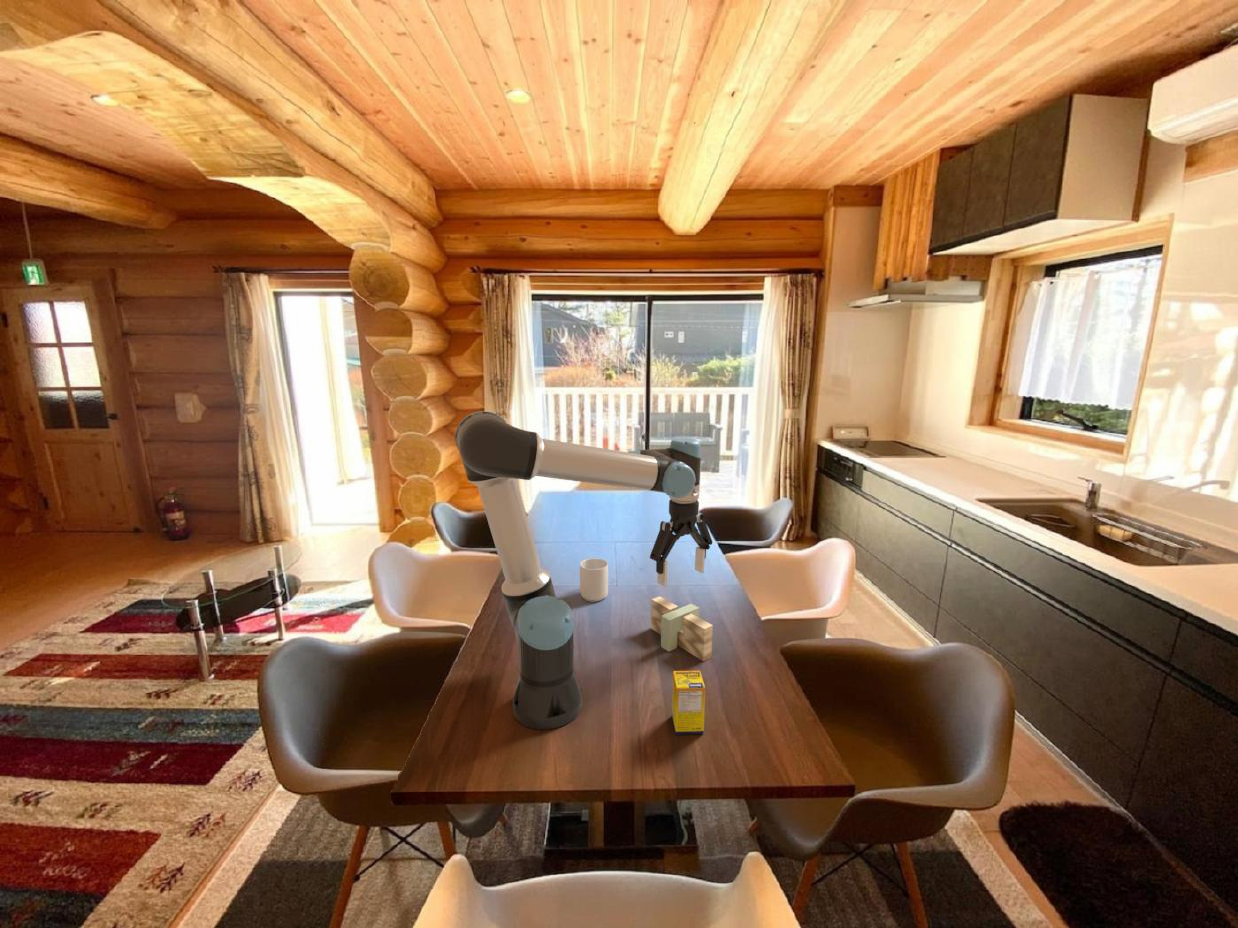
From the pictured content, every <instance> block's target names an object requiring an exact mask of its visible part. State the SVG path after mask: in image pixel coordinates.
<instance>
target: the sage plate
mask: <svg viewBox="0 0 1238 928" xmlns="http://www.w3.org/2000/svg"><path fill="white" fill-rule="evenodd" d="M690 614H693V615H695V616H697V617H699V618H700V607H699V606H696V605H695V604H693V603H689V604H687V605H685V606H682V607H678V609H677V610H674V611H672V612H669V613H667V614H665V615H662V620H661V635H660V647H661V648H662V649H663V650H665V651H667V652H671V651H674V650H675V649H677V648H678V645H677V632H679V631H682V630H683V617H685V616H687V615H690Z"/></svg>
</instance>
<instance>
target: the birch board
mask: <svg viewBox="0 0 1238 928" xmlns="http://www.w3.org/2000/svg"><path fill="white" fill-rule="evenodd" d="M650 608H651V614H650V615H651V617H650V618H651V619H650V620H651V621H650V622H651V623H650V629H651V630H653V631H654V632H656V633H657V634H659V635H660V636H661V620H662V615H665V614H667V613H669V612H672V611H674V610H677V609H679V606H678V605H677V604H675V603H673V602H671V601H670V600H668V599H666V598H663V597H662V596H660V595H659V596H656V597H654V598H651V607H650ZM713 629H714V625H713V624H711V623H709V622H707V621H706V620H704V619H702V618H701V617H700V616H699V617H697V616H695V615H693V614H690V615H687V616H685V617H683V630H682V631H679V632H677V647H679V648H681V649H682V650H684V651H686V652H688V653H689V654H691V655H692V656H694V657H696V658H697V659H699V660H700V661H702V662H705V661H707V660H708V659H711V658H712V656H713V655H712V652H713V651H712V649H713V634H714V633H713V631H714V630H713Z"/></svg>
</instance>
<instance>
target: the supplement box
mask: <svg viewBox="0 0 1238 928" xmlns="http://www.w3.org/2000/svg"><path fill="white" fill-rule="evenodd" d="M671 693H672V695H671V696H672V697H671V700H672V701H671V717H672V723H673V726H674V727H673V729H674V732H675V735H677V736H678V735H703V734H704V733H705V732H704V731H705V705H706V686H705V683H704V680H703V676H702V673H701V670H673V671H672V692H671Z"/></svg>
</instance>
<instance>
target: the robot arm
mask: <svg viewBox="0 0 1238 928" xmlns="http://www.w3.org/2000/svg"><path fill="white" fill-rule="evenodd" d="M454 441H455V446H456V449H457V450H458V451H459V455H460V458H461V463H462V465H463V468H464V469H463V470H464V471H465V472H464V473H465V474H466V479H467V480H468V482H469V483H471V484H473V485H475V486H476V487H477V490H478V493H479V496H480V500H481V502H482V506H483V509H484V512H485V516H486V519H487V522H488V526H489V529H490V533H491V536H492V540H493V543H494V545H495V549H496V553H497V556H498V559H499V562H500V566H501V568H502V569H501V570H502V573H503V576H504V581H503V583H502V584H501V586H500V587H501V588H500V589H501V593H502V596H503V601H504V603H505V609H506V613H507V614H508V617H509V619H510V622H511V626H512V629H513V632H514V635H515V639H516V641H517V645H518V662H519V663H518V665H519V678H518V681H517V685H516V687H515V691H514V694H513V698H512V712H513V715H514V717H515V718H516V720H517V722H519V723H520V724H521V725H523V726H525V727H528V728H531V729H535V730H551V729H556V728H560V727H562V726H565V725H567V724H569V723H570V722H572V721H574V720H575V719H576V718H577V717H578V715H579V714H580V712H581V711H582V707H583V693H582V689H581V687H580V684H579V681H578V678H577V676H576V674H575V667H574V664H575V661H574V627H575V623H574V622H575V621H574V617H573V611H572V609H571V606H569V604H568V603H567V602H566V601H564V600H563V599H558V598H557V595H556V592H555V588H554V584H553V581H552V577H551V575H550V572H549V571H548V570H547V569H545V568H542V565H541V561H540V558H539V554H538V551H537V547H536V544H535V540H534V537H533V533H532V530H531V526H530V522H529V518H528V515H527V512H526V511H527V510H526V508H525V505H524V500H523V497H522V494H521V490H520V487H519V486H520V485H519V482H518V480H524V481H530V480H532V479H533V478H535V477H540V478H541V477H542V478H547V479H548V478H549V479H558V480H565V481H573V482H579V483H581V482H582V483H589V484H596V485H597V484H598V485H602V486H603V485H605V486H611V487H621V488H628V489H635V490H643V491H650V492H656V493H663V494H666V495H667V496H669V502H668V513H669V516H670V520H669V521H664V520H661V522H660V525H659V531H658V533H657V537H656V539H655V541H654V544H653V547H652V550H651V552H650V555H649V559H651V560H653V561H655V562H656V563H655V564H656V567H655V571H656V573H657V584H659V585H660V586H662V587H667V586H668V561H667V558H668V556H669V554H670V553H671V550H672V549H673V547H674V546H675V545H676V542H677V541H678V540H679V539H680V538H681V537H684V536H688V535H689V536H691V538H692V539H693V540H694V541H695V543H696V544H697V546H696V547H695V556H694V558H695V559H694V560H695V561H694V571H697V572H698V573H701V574H703V573H705V562H706V558H707V550H710V548H711V545H713V539H712V537H711V534H710V531H709V529H708V526H707V523H706V514H704V513H701V512H699V507H700V502H699V499H700V479H701V462H702V449H701V442H700V441H699V440H697V439H696V438H695V439H694V438H690V437H688V438H687V437H684V438H683V437H678V438H673V439H672V440H671V441H670V445H669V447H666V448H654V449H653V448H652V449H637V450H630V451H622V450H621V451H620V450H616V449H615V450H614V449H609V448H604V447H603V448H602V447H596V446H591V445H584V444H577V443H572V442H571V443H570V442H565V441H558V440H554V439H546V438H542V437H541V436H540V435H539V433H538V432H536V431H530V430H524V429H521V428H519V427H516V426H513V425H511V424H509V423H507V421H506V420H505V419H504V418H503V417H502V416H500V415H499V414H498V413H494V412H492V411H485V410H484V411H477V412H473V413H471V414H468V415H467V416H465V417H464V418H463V419H462V420H461V421H460V422H459V424H458V426H457V428H456V430H455V435H454ZM696 526H697V527H696Z"/></svg>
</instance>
